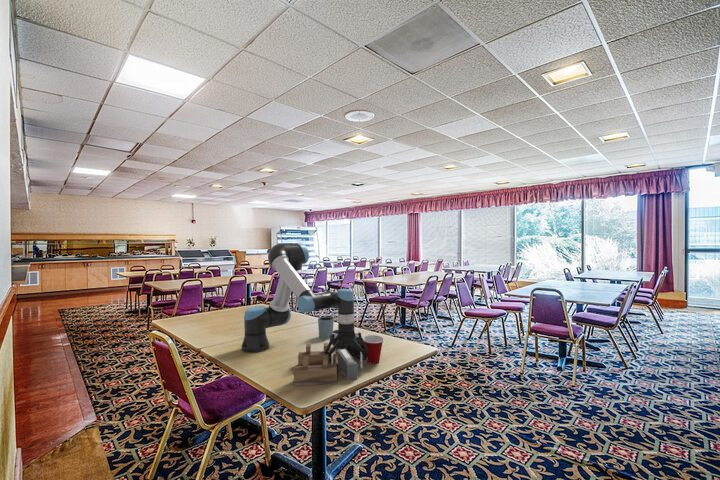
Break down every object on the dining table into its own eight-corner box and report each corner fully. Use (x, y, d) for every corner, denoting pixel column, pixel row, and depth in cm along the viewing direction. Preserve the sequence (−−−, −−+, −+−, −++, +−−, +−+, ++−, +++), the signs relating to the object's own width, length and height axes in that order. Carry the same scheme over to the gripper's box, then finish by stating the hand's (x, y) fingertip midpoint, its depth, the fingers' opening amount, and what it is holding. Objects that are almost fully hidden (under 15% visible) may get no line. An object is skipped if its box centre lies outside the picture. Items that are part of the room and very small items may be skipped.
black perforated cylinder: (359, 361, 175) (358, 341, 175) (328, 348, 197) (327, 330, 197) (373, 357, 181) (373, 337, 181) (341, 345, 203) (341, 327, 203)
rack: (336, 383, 148) (336, 359, 148) (294, 385, 147) (293, 361, 147) (335, 362, 174) (335, 342, 174) (299, 363, 172) (299, 343, 172)
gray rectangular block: (347, 380, 151) (347, 363, 151) (337, 363, 173) (337, 348, 173) (357, 379, 153) (357, 362, 153) (346, 362, 174) (345, 348, 174)
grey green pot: (320, 334, 225) (320, 316, 225) (335, 335, 224) (335, 316, 224) (316, 339, 215) (316, 320, 215) (332, 339, 214) (332, 320, 214)
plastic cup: (368, 367, 167) (368, 342, 167) (359, 360, 177) (359, 336, 177) (388, 363, 171) (388, 339, 171) (378, 357, 181) (378, 333, 181)
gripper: (319, 325, 158) (319, 372, 158) (373, 323, 160) (374, 369, 160) (319, 321, 165) (320, 366, 165) (371, 319, 168) (372, 363, 167)
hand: (347, 368), depth 162 cm, fingers open, 13 cm apart
